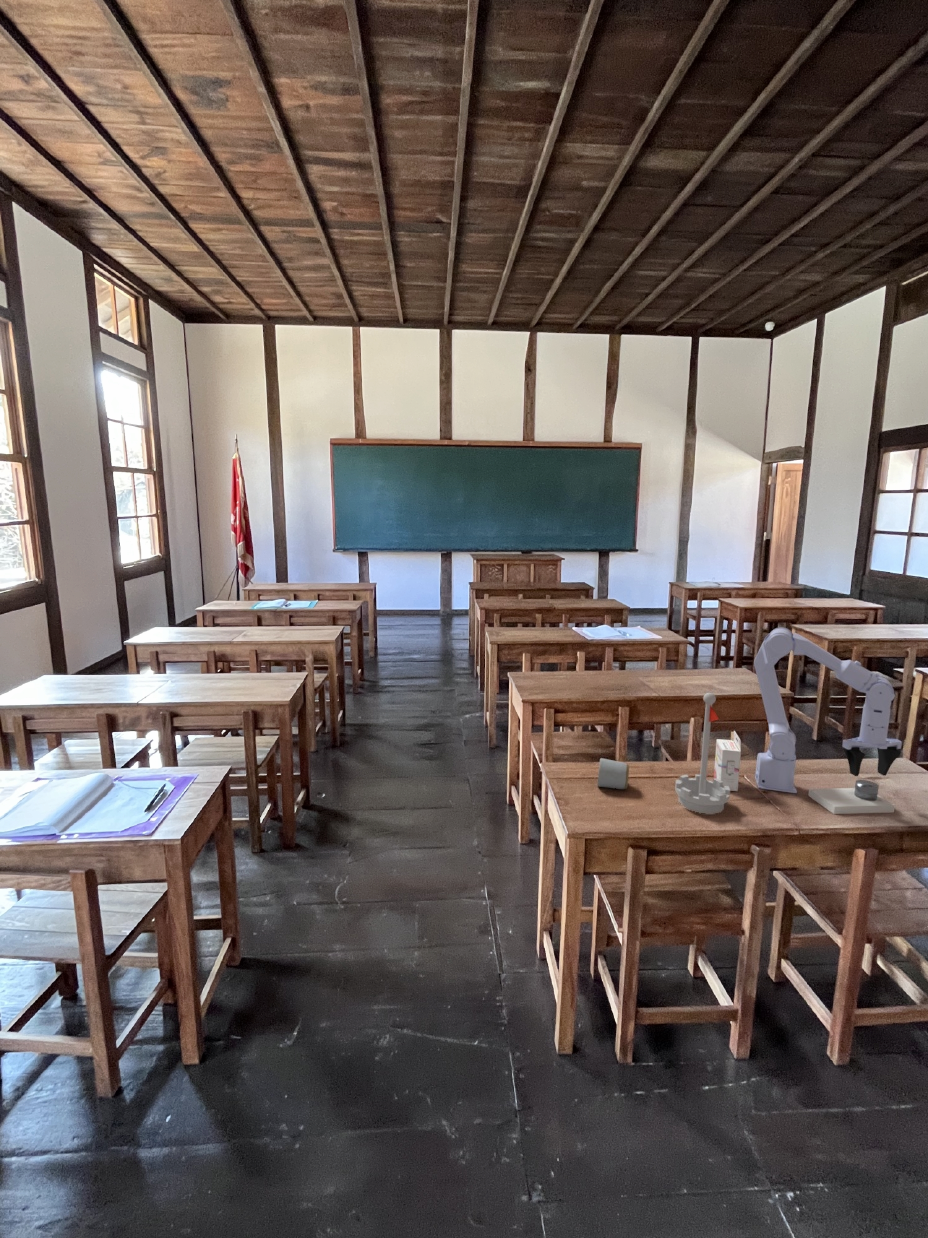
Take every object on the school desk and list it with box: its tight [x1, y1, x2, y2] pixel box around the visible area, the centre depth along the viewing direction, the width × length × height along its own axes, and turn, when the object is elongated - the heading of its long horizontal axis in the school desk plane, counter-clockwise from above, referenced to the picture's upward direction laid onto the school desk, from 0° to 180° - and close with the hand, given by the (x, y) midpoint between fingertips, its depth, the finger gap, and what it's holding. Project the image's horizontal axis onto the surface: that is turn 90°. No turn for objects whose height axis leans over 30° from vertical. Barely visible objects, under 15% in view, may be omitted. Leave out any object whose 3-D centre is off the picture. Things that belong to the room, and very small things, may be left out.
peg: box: [854, 779, 880, 801], centre depth 155 cm, size 5×5×5 cm
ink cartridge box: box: [713, 730, 742, 792], centre depth 165 cm, size 9×5×15 cm, turn 168°
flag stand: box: [674, 692, 730, 815], centre depth 152 cm, size 13×13×30 cm
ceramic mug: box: [596, 757, 630, 790], centre depth 165 cm, size 11×8×8 cm
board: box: [807, 787, 896, 815], centre depth 155 cm, size 16×10×2 cm, turn 94°
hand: (867, 774), depth 154 cm, fingers open, 7 cm apart
